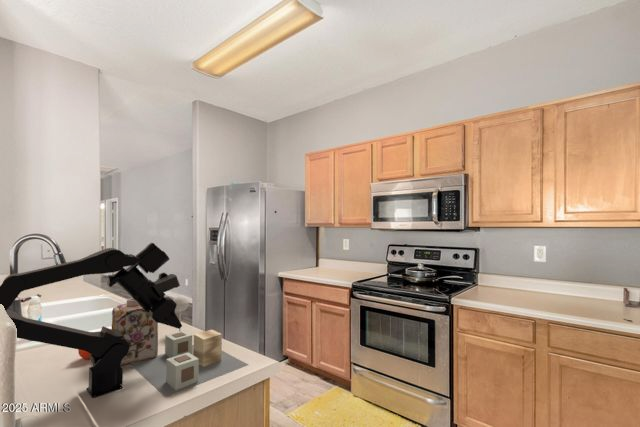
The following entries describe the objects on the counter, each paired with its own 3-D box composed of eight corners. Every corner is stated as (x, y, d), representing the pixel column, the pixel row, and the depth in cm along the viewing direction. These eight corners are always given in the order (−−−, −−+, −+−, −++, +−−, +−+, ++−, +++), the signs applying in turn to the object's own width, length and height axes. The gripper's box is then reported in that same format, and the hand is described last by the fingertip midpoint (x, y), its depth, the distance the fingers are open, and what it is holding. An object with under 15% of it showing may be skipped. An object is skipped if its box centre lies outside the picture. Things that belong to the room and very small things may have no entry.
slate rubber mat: (166, 399, 78) (166, 397, 78) (129, 365, 95) (129, 363, 95) (248, 366, 96) (248, 364, 96) (205, 343, 113) (205, 341, 113)
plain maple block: (203, 366, 94) (203, 339, 94) (193, 360, 98) (193, 334, 98) (221, 360, 98) (221, 334, 99) (211, 354, 103) (211, 329, 103)
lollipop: (167, 336, 119) (168, 296, 119) (180, 331, 124) (181, 292, 124) (178, 339, 116) (179, 298, 116) (191, 334, 121) (192, 294, 122)
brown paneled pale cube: (173, 360, 98) (173, 339, 98) (165, 354, 103) (165, 334, 103) (192, 354, 103) (192, 334, 103) (183, 348, 107) (183, 330, 107)
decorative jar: (152, 346, 110) (152, 293, 110) (158, 356, 100) (158, 298, 101) (110, 355, 103) (111, 298, 103) (113, 367, 93) (114, 304, 94)
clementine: (80, 367, 94) (81, 342, 94) (69, 361, 98) (69, 338, 98) (109, 357, 101) (110, 334, 101) (97, 352, 105) (98, 330, 105)
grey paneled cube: (176, 390, 81) (176, 365, 81) (165, 381, 85) (166, 358, 85) (198, 381, 86) (199, 358, 86) (187, 373, 90) (188, 351, 90)
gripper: (172, 268, 84) (209, 308, 90) (155, 261, 98) (188, 296, 104) (134, 301, 78) (176, 341, 84) (122, 288, 92) (158, 323, 99)
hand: (175, 323), depth 93 cm, fingers open, 9 cm apart
